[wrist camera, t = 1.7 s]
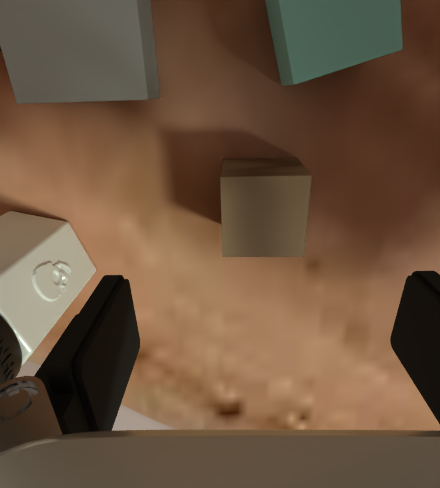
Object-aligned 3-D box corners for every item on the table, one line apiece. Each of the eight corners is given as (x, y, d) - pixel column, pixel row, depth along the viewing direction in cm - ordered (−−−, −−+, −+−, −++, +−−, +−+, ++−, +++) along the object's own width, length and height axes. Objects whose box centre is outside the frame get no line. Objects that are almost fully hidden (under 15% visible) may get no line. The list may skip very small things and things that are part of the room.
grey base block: (146, -43, 17) (127, -77, 14) (160, 97, 20) (148, 99, 17) (18, -39, 17) (-33, -72, 14) (51, 101, 21) (16, 103, 17)
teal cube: (354, -45, 17) (396, -93, 13) (363, 58, 19) (402, 49, 15) (262, -10, 18) (270, -43, 13) (281, 85, 20) (294, 85, 15)
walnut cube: (296, 157, 22) (311, 175, 17) (291, 225, 24) (304, 256, 19) (223, 158, 22) (220, 177, 18) (225, 225, 24) (222, 256, 20)
